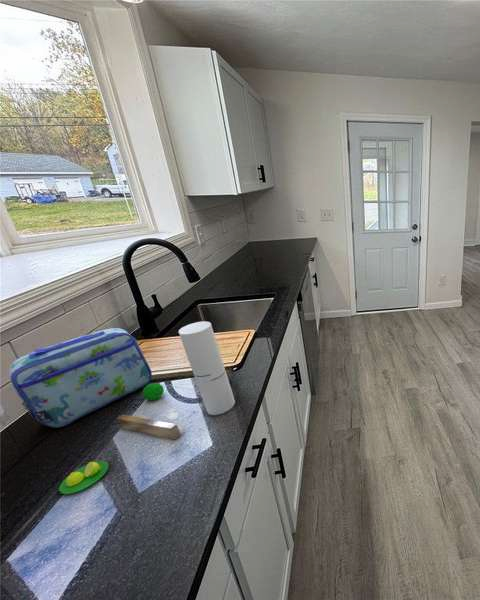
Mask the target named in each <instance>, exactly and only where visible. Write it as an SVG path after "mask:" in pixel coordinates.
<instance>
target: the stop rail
mask: <svg viewBox="0 0 480 600" xmlns="http://www.w3.org/2000/svg"><path fill="white" fill-rule="evenodd" d="M116 419H117V421H118V423H119V425H120V427H121V429H122V430H127V431H132V432H137V433H141V434H146V435H151V436H156V437H161V438H165V439H170V440H177V439H178V438H179V437H180V436H181V435H182V434H181V432H180V429H179V427H178V424H176V423H173V422H172V423H171V422H167V421H162V420H157V419H151V418H146V417H141V416H137V415H136V416H135V415H131V414H125V413H124V414H122V415H120V416H118V417H116Z"/></svg>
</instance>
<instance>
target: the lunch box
mask: <svg viewBox="0 0 480 600" xmlns="http://www.w3.org/2000/svg"><path fill="white" fill-rule="evenodd" d="M143 353H144V352H143V350H142V348H141V346H140V345H139V343H138V341H137V339H136V338H135V337H134V336H132V335H131V334H130V333H129V332H128V331H126V330H125V329H122V328H119V327H115V328H113V327H112V328H107V329H102V330H99V331H95V332H94V331H93V332H92V333H88V334H84V335H81V336H78V337H75V338H72V339H69V340H66V341H63V342H60V343H57V344H54V345H51V346H47V347H45V348H44V347H43V348H35V349H34V352H31V353H28V354H25V355H23V356H21V357H19V358H17V359H16V360H14V361H13V362H12V363H11V365H10V366H9V369H8V372H9V376H10V377H9V379H10V380H11V385H12V389H14V391H15V393H16V394H17V396H18V397H19V399H20V400H21V405H22V407H24V409H25V410H27V412H28V414H29V415H30V417H31V418H32V419H36V420H37V421H38V423H40V424H42V425H43V426H46V427H48V428H49V427H50V428H56V429H57V428H62V427H65V426H68V425H70V424H71V423H73V422H75V421H77V420H78V419H80V418H83V417H85V416H86V415H88V414H90V413H92V412H95V411H97V410H98V409H100V408H102V407H105V406H106V405H109V404H110V403H113V402H115V401H117V400H119V399H122V398H124V397H125V396H127V395H130V394H133V393H134V392H136V391H138V390H140V389H142V388H144V387H146V386H147V385H149V384H150V382H151V381H152V379H153V373H152V369H151V367H150V365H149V363H148V361H147V360H146V358H145V355H144V354H143Z"/></svg>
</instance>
